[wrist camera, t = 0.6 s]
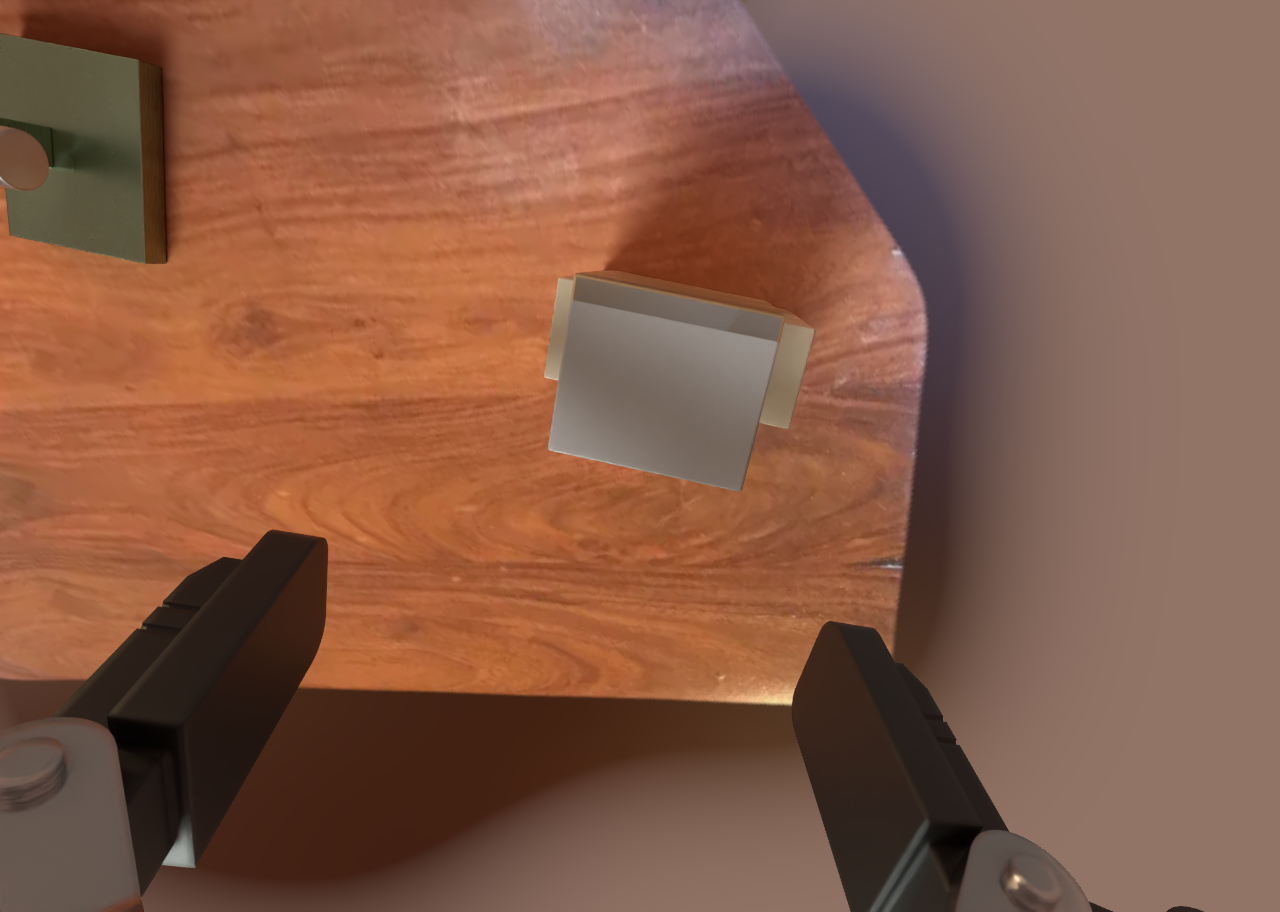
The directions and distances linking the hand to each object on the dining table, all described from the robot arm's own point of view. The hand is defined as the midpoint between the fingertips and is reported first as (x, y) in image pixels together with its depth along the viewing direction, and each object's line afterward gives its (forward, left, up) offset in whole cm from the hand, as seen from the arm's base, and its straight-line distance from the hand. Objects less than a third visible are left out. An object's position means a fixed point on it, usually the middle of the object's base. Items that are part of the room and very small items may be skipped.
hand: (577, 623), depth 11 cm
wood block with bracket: (-2, -1, -27) cm, 27 cm away
